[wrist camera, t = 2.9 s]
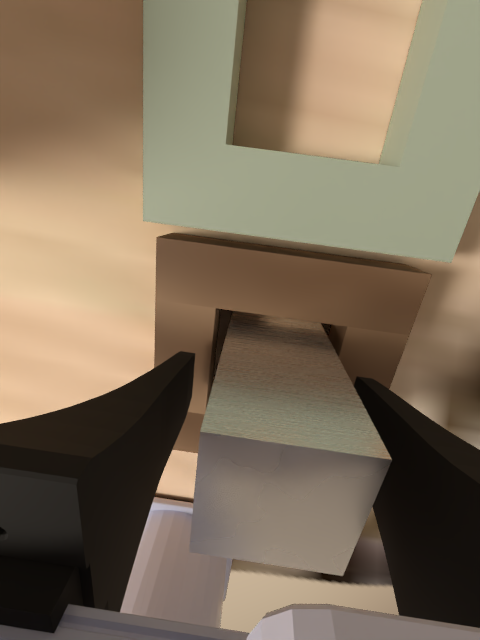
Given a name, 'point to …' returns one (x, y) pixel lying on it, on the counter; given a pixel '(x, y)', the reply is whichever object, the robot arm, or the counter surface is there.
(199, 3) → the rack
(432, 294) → the counter surface
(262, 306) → the socket block
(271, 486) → the peg
